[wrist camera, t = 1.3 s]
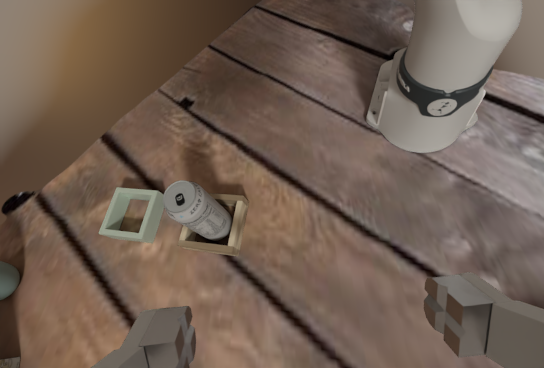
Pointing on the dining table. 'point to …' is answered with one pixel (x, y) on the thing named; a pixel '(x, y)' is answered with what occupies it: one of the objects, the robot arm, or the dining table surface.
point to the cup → (8, 279)
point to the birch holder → (235, 234)
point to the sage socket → (119, 209)
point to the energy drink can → (197, 210)
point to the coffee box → (10, 362)
